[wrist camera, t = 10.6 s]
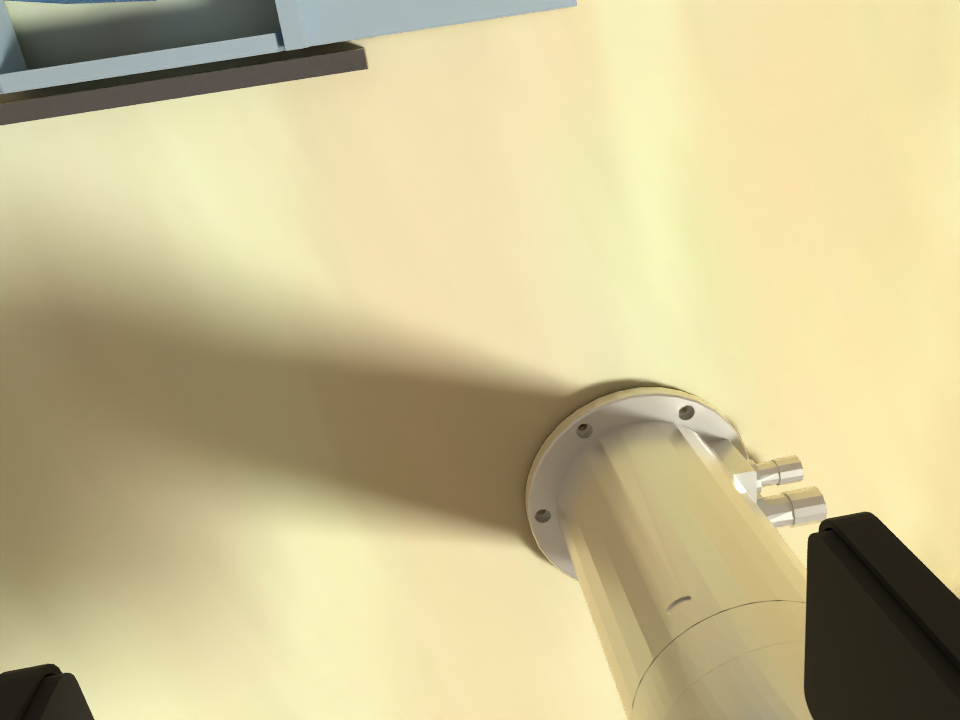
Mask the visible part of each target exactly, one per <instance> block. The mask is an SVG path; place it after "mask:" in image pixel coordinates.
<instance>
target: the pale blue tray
mask: <svg viewBox="0 0 960 720" xmlns="http://www.w3.org/2000/svg"><path fill="white" fill-rule="evenodd" d="M275 4H276V8H277V13H278V17H279V22H280V26H281V31H282V32H280V33H272V34H265V35H258V36H252V37H245V38H239V39H232V40H225V41H219V42H212V43H205V44H199V45H192V46H185V47H179V48H172V49H166V50H159V51H152V52H146V53H139V54H132V55H126V56H119V57H113V58H106V59H99V60H93V61H86V62H79V63H73V64H66V65H60V66H53V67H46V68H40V69H33V70H28V69H27V66H26V63H25V60H24V57H23V54H22V51H21V48H20V45H19V42H18V39H17V37H16V34H15V31H14V28H13V25H12V22H11V19H10V16H9V13H8V10H7V7H6V4H5V1H4V0H0V94H6V93H12V92H19V91H25V90H32V89H39V88H45V87H52V86H58V85H65V84H72V83H78V82H85V81H91V80H98V79H104V78H111V77H118V76H124V75H131V74H137V73H144V72H150V71H157V70H164V69H170V68H177V67H183V66H190V65H196V64H203V63H210V62H216V61H223V60H229V59H236V58H243V57H249V56H256V55H262V54H269V53H275V52H280V51H284V50H286V51H289V50H295V49H302V48H307V47H310V46H316V45H323V44H329V43H336V42H343V41H349V40H356V39H362V38H369V37H376V36H382V35H389V34H395V33H402V32H408V31H415V30H422V29H428V28H435V27H441V26H448V25H454V24H461V23H468V22H474V21H481V20H487V19H494V18H501V17H507V16H514V15H520V14H527V13H533V12H540V11H547V10H553V9H560V8H566V7H573V6H577V1H576V0H275Z"/></svg>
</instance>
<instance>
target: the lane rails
mask: <svg viewBox="0 0 960 720" xmlns="http://www.w3.org/2000/svg"><path fill="white" fill-rule="evenodd" d="M363 69H368V62H367V57H366V51H365V48H360V49H353V50H347V51H340V52H333V53H327V54H320V55H314V56H307V57H301V58H294V59H288V60H281V61H274V62H268V63H261V64H255V65H248V66H242V67H235V68H229V69H222V70H215V71H209V72H202V73H196V74H189V75H183V76H176V77H170V78H163V79H157V80H150V81H143V82H137V83H130V84H124V85H117V86H111V87H104V88H98V89H91V90H84V91H78V92H71V93H65V94H58V95H52V96H45V97H39V98H32V99H25V100H19V101H12V102H6V103H0V125H6V124H12V123H19V122H25V121H32V120H38V119H45V118H51V117H58V116H64V115H71V114H77V113H84V112H90V111H97V110H103V109H110V108H116V107H123V106H129V105H136V104H142V103H149V102H155V101H162V100H168V99H175V98H181V97H188V96H194V95H201V94H207V93H214V92H220V91H227V90H233V89H240V88H246V87H253V86H259V85H266V84H272V83H279V82H285V81H292V80H298V79H305V78H311V77H318V76H324V75H331V74H337V73H344V72H350V71H357V70H363Z"/></svg>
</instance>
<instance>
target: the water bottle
mask: <svg viewBox="0 0 960 720" xmlns="http://www.w3.org/2000/svg"><path fill="white" fill-rule="evenodd" d="M8 1H25V2H42V3H60V4H79V3H105V2H132V1H156V0H8Z"/></svg>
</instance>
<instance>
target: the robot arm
mask: <svg viewBox="0 0 960 720" xmlns="http://www.w3.org/2000/svg"><path fill="white" fill-rule="evenodd" d="M682 407H683V408H682ZM681 408H682V409H681ZM582 424H584V426H582V427H579V426H580V425H582ZM803 475H804V474H803V467H802V464H801V462H800V460H799V459H798V457H796V456H789V457H784V458H778V459H773V460H771V461H769V462H763V463H758V464H756V463H755V462H754V461H753V460H749V457H748V453H747V451H746V448H745V446H744V444H743V441H742V439H741V437H740V436H739V434H738V433H737V432H736V430H735V429H734V427H733V426H732V425H731V423H730V422H729V421H728V420H727V419H726V418H725V417H724V416H723V415H722V414H721V413H720V412H719V411H718V410H717V409H716V408H714V407H713V406H711V405H710V404H708V403H707V402H705V401H704V400H703V399H701V398H698V397H696V396H693V395H691V394H688V393H686V392H683V391H679V390H674V389H668V388H663V387H639V388H633V389H628V390H622V391H617V392H614V393H612V394H609V395H606V396H603V397H600V398H598V399H595V400H594V401H592V402H590V403H588V404H587V405H585V406H583V407H581V408H579V409H578V410H576V411H575V412H574V413H572V414H571V415H570V416H569V417H567V418H566V419H565V420H564V421H563V422H561V423H560V424H559V425H558V426H557V427H556V428H555V430H554V431H553V432H552V433H551V434H550V435H549V436H548V438H547V439H546V440H545V441H544V443H543V445H542V446H541V448H540V450H539V452H538V453H537V455H536V457H535V458H534V461H533V464H532V467H531V469H530V472H529V475H528V479H527V486H526V494H525V500H526V512H527V517H528V520H529V524H530V528H531V531H532V534H533V536H534V538H535V540H536V543H537V545H538V547H539V549H540V550H541V551H542V552H543V554H544V555H545V556H546V558H547V559H548V560H549V562H550V563H552V564H553V565H554V566H555V567H556V568H558V569H559V570H560V571H561V572H562V573H564V574H565V575H567V576H569V577H571V578H573V579H575V580H576V581H578V582H579V583H580V586H581V589H582V591H583V594H584V597H585V600H586V603H587V606H588V608H589V611H590V614H591V617H592V620H593V623H594V625H595V628H596V631H597V634H598V637H599V639H600V642H601V645H602V648H603V651H604V654H605V656H606V659H607V662H608V665H609V668H610V671H611V673H612V676H613V679H614V682H615V685H616V688H617V690H618V693H619V696H620V699H621V702H622V704H623V707H624V710H625V713H626V716H627V719H628V720H960V600H959V599H958V598H957V597H956V596H955V595H954V594H953V593H952V592H951V591H950V590H949V589H948V588H947V587H946V586H945V585H944V584H943V583H942V582H941V581H940V580H939V579H938V578H937V577H936V576H935V575H934V574H933V573H932V572H931V571H930V570H929V569H928V568H927V567H926V566H925V565H924V564H923V563H922V562H921V561H920V560H919V559H918V558H917V557H916V556H915V555H914V554H913V553H912V552H911V551H910V550H909V549H908V548H907V547H906V546H905V545H904V544H903V543H902V542H901V541H900V540H899V539H898V538H897V537H896V536H895V535H894V534H893V533H892V532H891V531H890V530H889V529H888V528H887V527H886V526H885V525H884V524H883V523H882V522H881V521H880V520H879V519H878V518H877V517H876V516H875V515H873V514H872V513H870V512H861V513H855V514H850V515H845V516H839V517H834V518H829V519H826V514H827V510H826V504H825V501H824V498H823V495H822V494H821V492H820V491H819V489H817V488H816V487H809V488H803V489H798V490H793V491H787V492H783V493H781V494H780V495H774V496H769V497H764V498H763V497H762V496H761V495H760V493H759V492H761V488H762V487H765V486H770V485H783V484H788V483H793V482H799V481H801V480H803ZM541 509H542V510H541ZM819 522H821V524H820V526H819V532H817V533H813V534H810V536H809V538H808V549H807V568H806V567H805V566H804V565H803V563H802V562H801V561H800V559H799V558H798V557H797V556H796V554H795V553H794V552H793V550H792V549H791V548H790V547H789V545H788V544H787V543H786V541H785V540H784V539H783V538H782V536H781V535H780V534H779V532H778V531H777V530H776V529H777V528H782V527H787V526H789V527H798V526H803V525H808V524H814V523H819ZM0 720H94V718H93V716H92V713H91V711H90V709H89V706H88V704H87V702H86V700H85V697H84V695H83V693H82V691H81V688H80V686H79V684H78V682H77V680H76V678H75V676H74V675H72V674H71V673H63V674H62V672H61V670H60V669H59V668H58V667H57V666H56V665H54V664H45V665H40V666H34V667H29V668H23V669H18V670H13V671H7V672H4V673H2V674H0Z"/></svg>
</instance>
